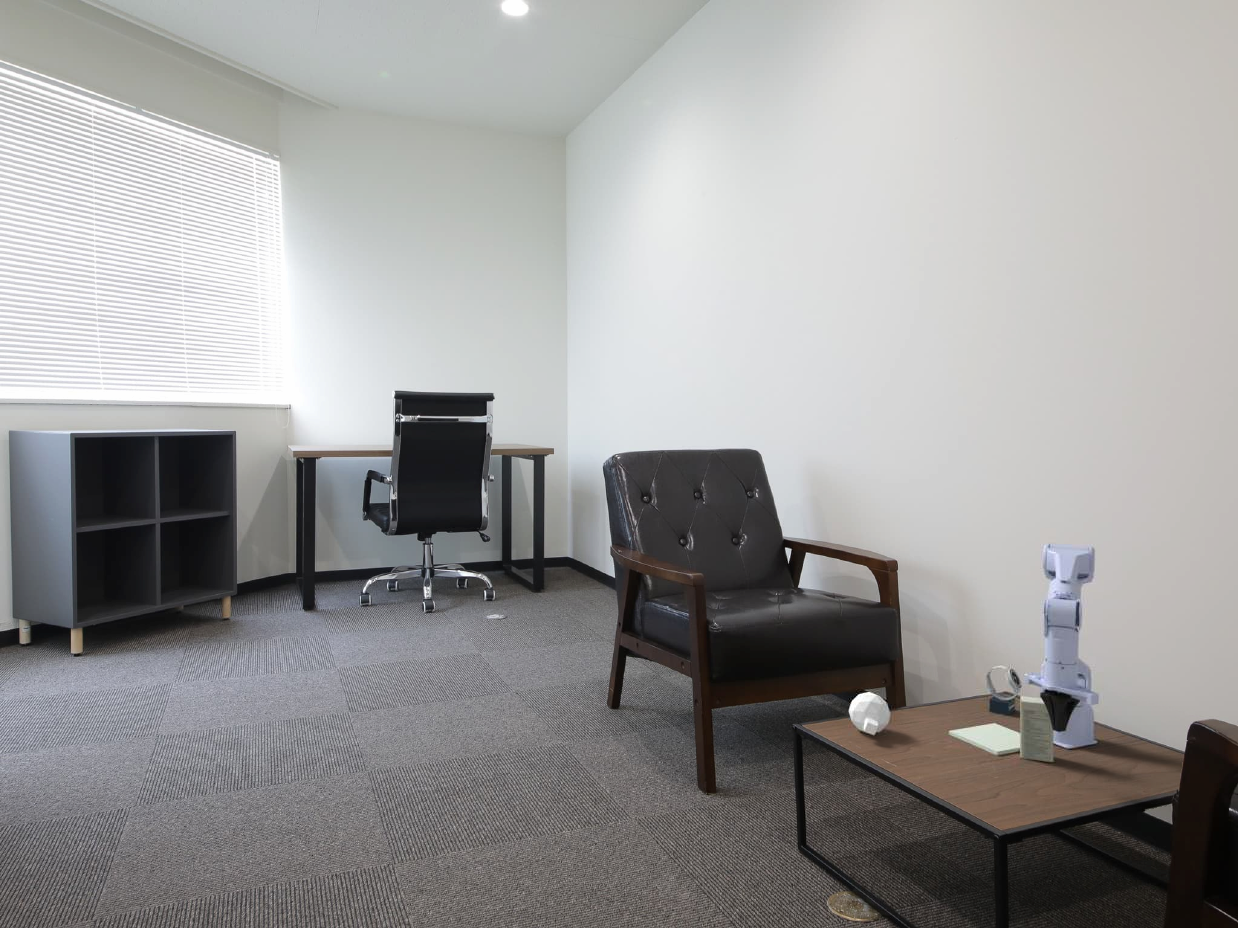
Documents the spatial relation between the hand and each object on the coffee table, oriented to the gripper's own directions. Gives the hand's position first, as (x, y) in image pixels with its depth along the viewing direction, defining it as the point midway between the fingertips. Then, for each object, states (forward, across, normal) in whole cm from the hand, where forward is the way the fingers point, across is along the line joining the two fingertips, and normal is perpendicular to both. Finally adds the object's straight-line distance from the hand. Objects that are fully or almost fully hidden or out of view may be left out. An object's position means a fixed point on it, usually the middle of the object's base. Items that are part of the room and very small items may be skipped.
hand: (1059, 730), depth 157 cm
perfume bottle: (+10, -35, -17) cm, 40 cm away
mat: (+10, -21, +7) cm, 25 cm away
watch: (+11, -35, +25) cm, 45 cm away
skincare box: (+11, -11, +7) cm, 17 cm away
